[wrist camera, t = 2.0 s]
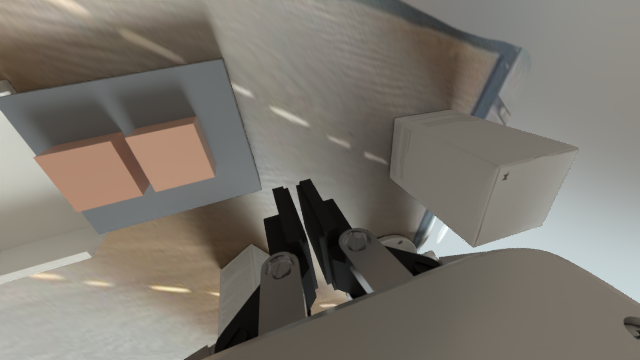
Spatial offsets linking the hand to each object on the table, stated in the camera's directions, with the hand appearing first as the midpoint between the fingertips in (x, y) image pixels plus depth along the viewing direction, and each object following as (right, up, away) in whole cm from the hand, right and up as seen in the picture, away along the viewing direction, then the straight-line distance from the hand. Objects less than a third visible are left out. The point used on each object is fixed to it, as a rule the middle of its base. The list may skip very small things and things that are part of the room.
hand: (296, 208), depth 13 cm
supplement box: (+15, +6, +22) cm, 28 cm away
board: (-15, +5, +12) cm, 20 cm away
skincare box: (-9, -10, +23) cm, 27 cm away
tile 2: (-17, +3, +9) cm, 20 cm away
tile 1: (-12, +4, +10) cm, 16 cm away
